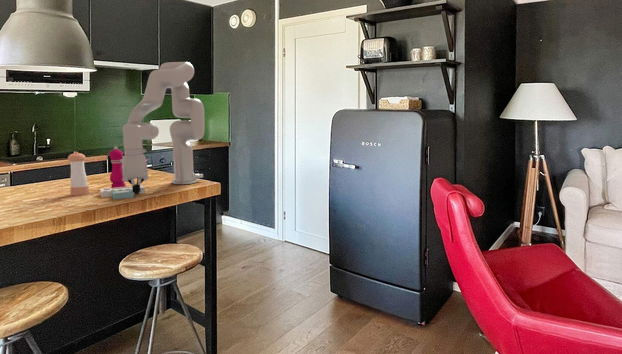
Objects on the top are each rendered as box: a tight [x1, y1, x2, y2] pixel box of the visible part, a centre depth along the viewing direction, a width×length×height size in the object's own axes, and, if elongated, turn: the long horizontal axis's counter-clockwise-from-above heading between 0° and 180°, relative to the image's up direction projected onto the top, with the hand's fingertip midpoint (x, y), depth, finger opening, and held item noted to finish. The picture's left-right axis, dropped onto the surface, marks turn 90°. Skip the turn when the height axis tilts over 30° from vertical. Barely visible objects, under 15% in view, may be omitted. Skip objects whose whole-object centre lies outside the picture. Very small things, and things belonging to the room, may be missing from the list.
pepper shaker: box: [67, 151, 90, 196], centre depth 197 cm, size 7×7×19 cm
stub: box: [111, 190, 134, 200], centre depth 192 cm, size 8×6×3 cm
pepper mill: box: [108, 146, 127, 188], centre depth 212 cm, size 7×7×20 cm
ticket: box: [99, 184, 146, 198], centre depth 199 cm, size 18×7×3 cm, turn 119°
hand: (136, 193), depth 195 cm, fingers closed
